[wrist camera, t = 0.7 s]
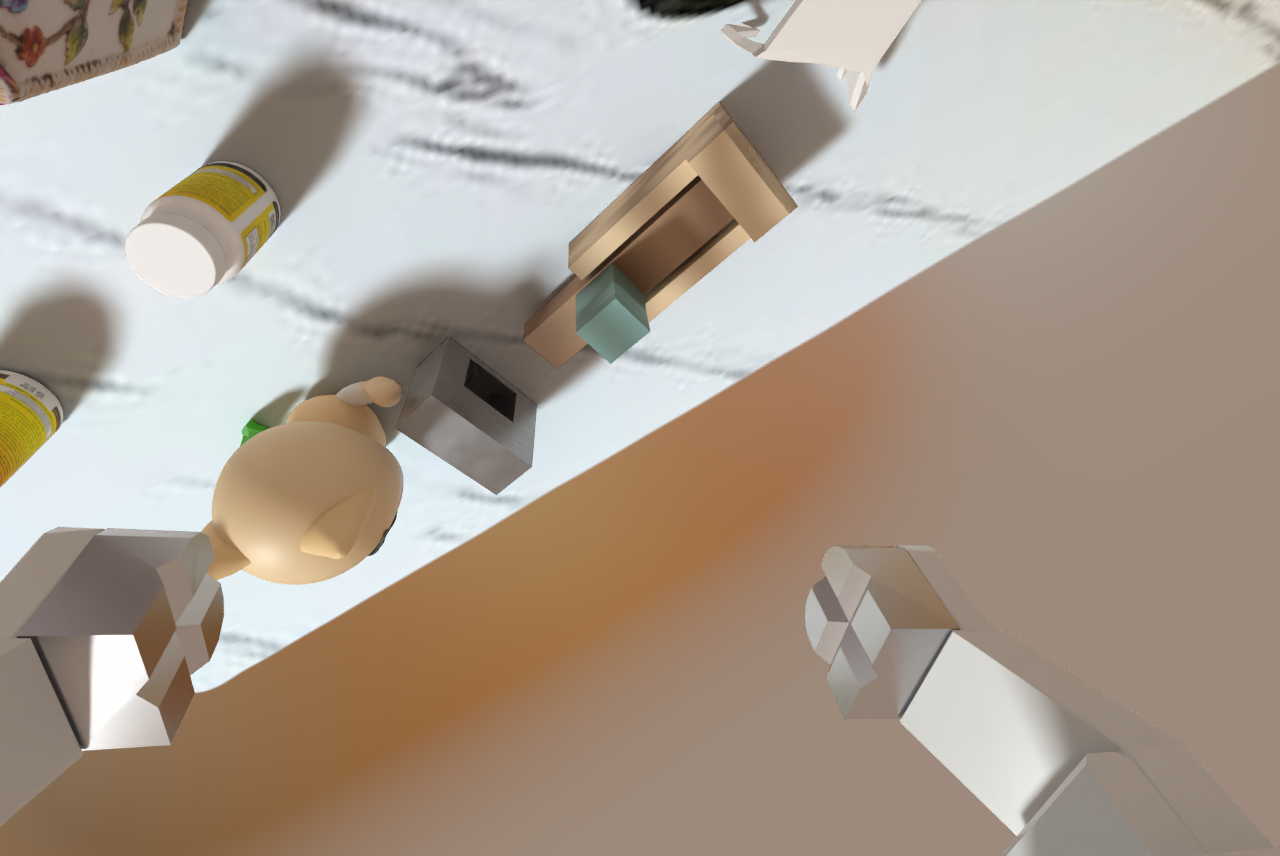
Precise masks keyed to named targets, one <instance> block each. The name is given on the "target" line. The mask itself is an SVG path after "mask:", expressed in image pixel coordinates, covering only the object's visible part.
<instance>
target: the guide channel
mask: <svg viewBox="0 0 1280 856" xmlns="http://www.w3.org/2000/svg"><path fill="white" fill-rule="evenodd" d="M696 176H699V177H700V178H701V179H702V180H703V182H704V183H705V184H706V185H707V186H708V187H709V189H710V190H711V191H712V192H713V193H714V195H715V196H716V197H717V198H718V199H719V201H720V202H721V203H722V204H723V205H724V207H725V208H726V209H727V210H728V211H729V212H730V214H731V215H732V216H733V217H734V219H733V220H732V221H731V222H730V223H728V224H727V225H726V226H725V227H724V228H722V229H721V230H720V231H719V232H718V233H717V234H715V235H714V236H713V237H712V238H711V239H710V240H708V241H707V242H706V243H705V244H704V245H703V246H701V247H700V248H699V249H698V250H697V251H696V252H694V253H693V254H692V255H691V256H690V257H689V258H687V259H686V260H685V261H684V262H683V263H681V264H680V265H679V266H678V267H677V268H676V269H674V270H673V271H672V272H671V273H670V274H669V275H667V276H666V277H665V278H664V279H663V280H662V281H660V282H659V283H658V284H657V285H656V286H655V287H653V288H652V289H651V290H650V291H649V292H648V293H646V294H645V295H644V300H645V306H646V311H647V317H648V323H649V322H650V321H651V320H652V319H654V318H655V317H656V316H657V315H658V314H660V313H661V312H662V311H663V310H664V309H666V308H667V307H668V306H669V305H670V304H672V303H673V302H674V301H675V300H676V299H678V298H679V297H680V296H681V295H682V294H684V293H685V292H686V291H687V290H688V289H690V288H691V287H692V286H693V285H694V284H696V283H697V282H698V281H699V280H700V279H702V278H703V277H704V276H705V275H707V274H708V273H709V272H710V271H711V270H713V269H714V268H715V267H716V266H717V265H719V264H720V263H721V262H722V261H723V260H725V259H726V258H727V257H728V256H729V255H731V254H732V253H733V252H734V251H735V250H737V249H738V248H739V247H740V246H741V245H743V244H744V243H745V242H746V241H747V240H749V239H750V238H751V239H752V240H753V241H754V242H756V241H757V240H758V239H759V238H760V237H762V236H763V235H764V234H765V233H766V232H768V231H769V230H770V229H771V228H773V227H774V226H775V225H776V224H777V223H779V222H780V221H781V220H782V219H783V218H785V217H786V216H787V215H788V214H789V213H791V212H792V211H793V210H794V209H796V208H797V207H798V206H797V204H796V203H795V202H794V200H793V199H792V198H791V196H790V195H789V194H788V192H787V191H786V190H785V188H784V187H783V186H782V184H781V183H780V181H779V180H778V179H777V178H776V176H775V175H774V174H773V172H772V171H771V170H770V168H769V167H768V166H767V164H766V163H765V162H764V161H763V159H762V158H761V157H760V155H759V154H758V153H757V151H756V150H755V149H754V147H753V146H752V145H751V144H750V142H749V141H748V140H747V138H746V137H745V136H744V134H743V133H742V132H741V130H740V129H739V128H738V127H737V125H736V124H735V123H734V121H733V120H732V119H731V117H730V116H729V115H728V113H727V112H726V111H725V110H724V108H723V107H722V106H721V104H720V103H718V104H716V105H715V106H714V107H713V108H712V109H711V110H710V111H709V112H708V113H707V114H706V115H705V116H704V117H703V118H702V119H701V120H700V121H698V122H697V123H696V124H695V125H694V126H693V127H692V128H691V129H690V130H689V131H688V132H687V133H686V134H685V135H684V136H683V137H681V138H680V139H679V140H678V141H677V142H676V143H675V144H674V145H673V146H672V147H671V148H670V149H669V150H668V151H667V152H666V153H665V154H663V155H662V156H661V157H660V158H659V159H658V160H657V161H656V162H655V163H654V164H653V165H652V166H651V167H650V168H649V169H648V170H646V171H645V172H644V173H643V174H642V175H641V176H640V177H639V178H638V179H637V180H636V181H635V182H634V183H633V184H632V185H631V186H630V187H628V188H627V189H626V190H625V191H624V192H623V193H622V194H621V195H620V196H619V197H618V198H617V199H616V200H615V201H614V202H613V203H611V204H610V205H609V206H608V207H607V208H606V209H605V210H604V211H603V212H602V213H601V214H600V215H599V216H598V217H597V218H596V219H595V220H593V221H592V222H591V223H590V224H589V225H588V226H587V227H586V228H585V229H584V230H583V231H582V232H581V233H580V234H579V235H578V236H576V237H575V238H574V239H573V240H572V241H571V242H570V243H569V262H568V268H569V269H570V270H571V271H572V272H573V273H574V274H575V275H576V276H578V277H579V278H580V279H581V280H583V279H584V278H585V277H586V276H587V275H588V274H589V273H590V272H592V271H593V270H594V269H595V268H596V267H597V266H598V265H599V264H600V263H601V262H603V261H604V260H605V259H606V258H607V257H608V256H609V255H610V254H611V253H613V252H614V251H615V250H616V249H617V248H618V247H619V246H620V245H621V244H622V243H624V242H625V241H626V240H627V239H628V238H629V237H630V236H631V235H632V234H634V233H635V232H636V231H637V230H638V229H639V228H640V227H641V226H642V225H643V224H645V223H646V222H647V221H648V220H649V219H650V218H651V217H652V216H653V215H654V214H656V213H657V212H658V211H659V210H660V209H661V208H662V207H663V206H664V205H666V204H667V203H668V202H669V201H670V200H671V199H672V198H673V197H674V196H675V195H677V194H678V193H679V192H680V191H681V190H682V189H683V188H684V187H685V186H687V185H688V184H689V183H690V182H691V181H692V180H693V179H694V178H695V177H696Z"/></svg>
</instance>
